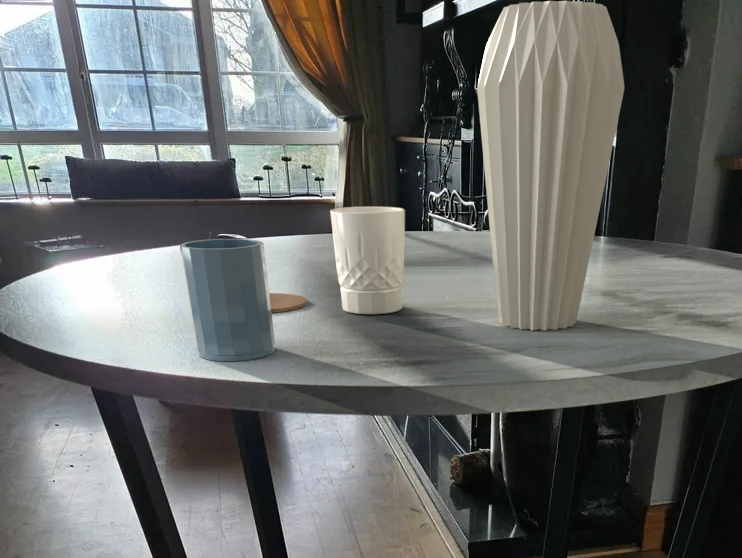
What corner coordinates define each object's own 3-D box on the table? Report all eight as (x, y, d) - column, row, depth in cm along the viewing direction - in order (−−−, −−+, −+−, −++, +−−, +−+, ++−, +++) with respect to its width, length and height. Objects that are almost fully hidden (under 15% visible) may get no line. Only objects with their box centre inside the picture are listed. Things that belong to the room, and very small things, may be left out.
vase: (541, 343, 73) (562, -10, 59) (446, 321, 81) (446, 8, 68) (627, 323, 81) (663, 6, 67) (532, 304, 89) (547, 20, 75)
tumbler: (203, 364, 67) (184, 250, 62) (194, 346, 72) (176, 240, 68) (282, 356, 69) (269, 246, 64) (267, 340, 74) (254, 237, 70)
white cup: (397, 300, 91) (394, 205, 86) (415, 313, 85) (413, 211, 80) (331, 304, 89) (324, 207, 84) (344, 318, 83) (337, 214, 78)
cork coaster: (224, 316, 84) (224, 312, 84) (213, 300, 92) (212, 296, 91) (315, 309, 87) (315, 305, 87) (297, 294, 95) (297, 290, 95)
